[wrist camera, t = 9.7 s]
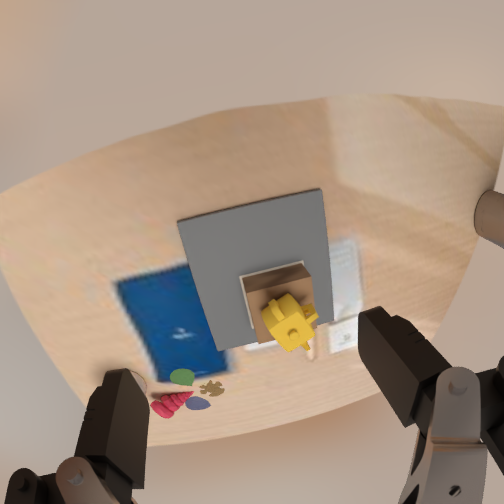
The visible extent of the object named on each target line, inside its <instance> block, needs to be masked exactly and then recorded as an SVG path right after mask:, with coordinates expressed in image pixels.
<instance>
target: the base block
mask: <svg viewBox="0 0 504 504" xmlns="http://www.w3.org/2000/svg"><path fill="white" fill-rule="evenodd" d="M242 280H243V285H244V289H245V293H246V297H247V301H248V305H249V309H250V313H251V318H252V322H253V326H254V329H255V333H256V337H257V340H258V344H261V343H265V342H269V341H273V340H275V338H274V337H273V336H272V335H271V333H270V332H269V330H268V328H267V327H266V325H265V323H264V321H263V318H262V315H261V311H262V310H263V309H265V308H266V307H268V306H269V304H268V302H270V301H272V300H273V299H275V300H276V301H277V300H278V299H280V298H281V297H283V296H284V295H286V294H288V293H289V294H290V295H291V296H292V297H293V298H294V299H295V300H296V301H297V302H298V304H299V305H300V306H304V305H307V304H312V305H313V307H314V308H315V304H314V295H313V286H312V277H311V275H310V274H309V272H308V271H307V270H306V268H305V267H304V266H303V264H302V263H299V264H296V265H292V266H288V267H284V268H280V269H276V270H272V271H268V272H264V273H260V274H256V275H252V276H248V277H244V278H242ZM310 314H311V313H308V314H306V315H307V316H308V315H310ZM311 325H312V327H313V329H315V328H317V324H316V320H314V321H313V322H312V323H311Z"/></svg>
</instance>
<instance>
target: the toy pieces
mask: <svg viewBox="0 0 504 504" xmlns="http://www.w3.org/2000/svg"><path fill="white" fill-rule="evenodd" d="M170 380H171V381H172V382H173V383H175V384H179V385H187V386H192V383H193V381H194V373H193V372H192V371H190V370H188V369H177V370H175V371H173V372H172V373H171V375H170ZM218 386H222V384H221V383H220V382H216V383H215V384H212V381H211V380H210V381H209V383H208V384H207V386H204V385H202V386H200V388H204V389H205V390H201V391H200V392H201V394H206V393H207V391H208V392H210V393H211V392H212V393H211V394H210V395H209V396H218V395H220V394H222V393H223V392H224V388H223V389H221V388H220V387H218ZM193 393H194V391H191V392H185V393H184V392H183V393H181V394H180V393H179V394H177V395H175V394H171V395H170V397H169V396H167V395H164V396H162V397H161V402H162V403H161V402H159V401H156V400H155V401H153V402H152V403H151V405H150V406H151V407H152V409H153V410H154V411H155V412H156V413H157V414H159V415H160V416H161V417H163V418H170V417H172V416H173V415H174V411H177V410H178V409H179V408H180V406H182V405H183V404H184V402H185V401H186V400H187V401H186V402H185V404H186V406H187V408H189V409H191V410H201V409H205V408H208V407H209V406H211V405H210V404H209V402H208V401H207V400H205V399H203V398H200V397H196V396H195V397H190V396H191V395H192V394H193ZM189 397H190V398H189Z"/></svg>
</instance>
